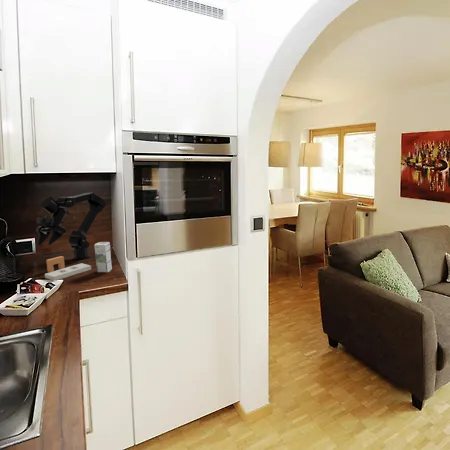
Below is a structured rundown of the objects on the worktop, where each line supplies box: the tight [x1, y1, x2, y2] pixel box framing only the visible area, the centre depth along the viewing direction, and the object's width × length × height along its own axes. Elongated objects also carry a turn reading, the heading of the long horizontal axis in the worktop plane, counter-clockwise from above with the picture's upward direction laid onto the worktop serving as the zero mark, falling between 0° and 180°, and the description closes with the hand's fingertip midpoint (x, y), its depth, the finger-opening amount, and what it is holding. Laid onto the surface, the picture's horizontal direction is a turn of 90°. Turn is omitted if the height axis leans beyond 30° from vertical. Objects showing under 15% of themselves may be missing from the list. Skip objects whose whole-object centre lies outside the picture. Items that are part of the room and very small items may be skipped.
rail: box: [44, 262, 92, 281], centre depth 183 cm, size 20×8×2 cm, turn 145°
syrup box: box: [94, 241, 113, 273], centre depth 185 cm, size 6×6×14 cm
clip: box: [45, 255, 66, 273], centre depth 189 cm, size 8×2×6 cm, turn 145°
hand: (43, 244), depth 186 cm, fingers open, 9 cm apart
